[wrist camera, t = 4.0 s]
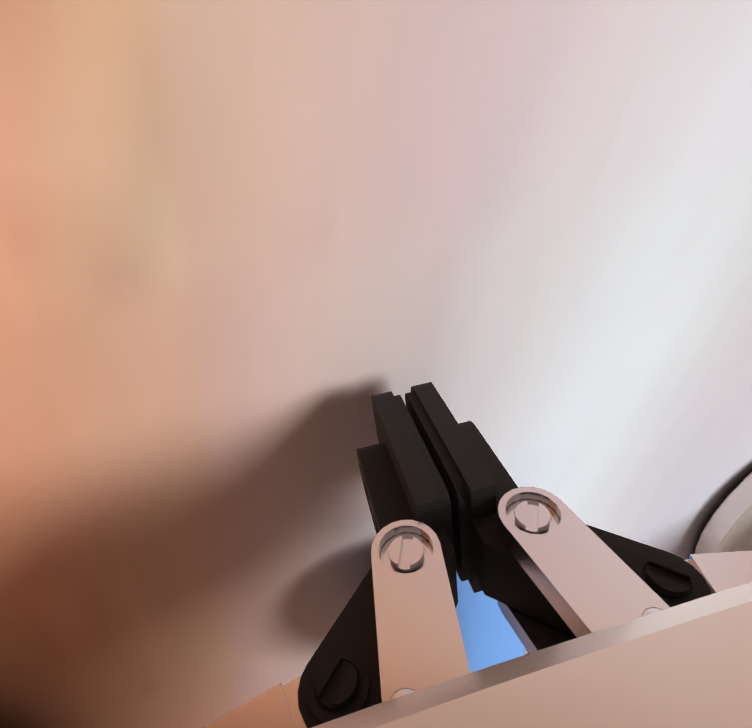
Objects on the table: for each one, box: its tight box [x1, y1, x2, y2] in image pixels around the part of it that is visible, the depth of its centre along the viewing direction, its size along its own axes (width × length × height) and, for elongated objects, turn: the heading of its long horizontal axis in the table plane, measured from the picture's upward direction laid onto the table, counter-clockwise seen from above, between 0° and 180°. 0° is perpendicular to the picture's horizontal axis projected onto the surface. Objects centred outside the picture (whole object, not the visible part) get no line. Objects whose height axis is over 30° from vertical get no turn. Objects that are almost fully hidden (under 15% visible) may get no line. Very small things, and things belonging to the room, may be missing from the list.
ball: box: [456, 572, 525, 673], centre depth 15 cm, size 6×6×6 cm
